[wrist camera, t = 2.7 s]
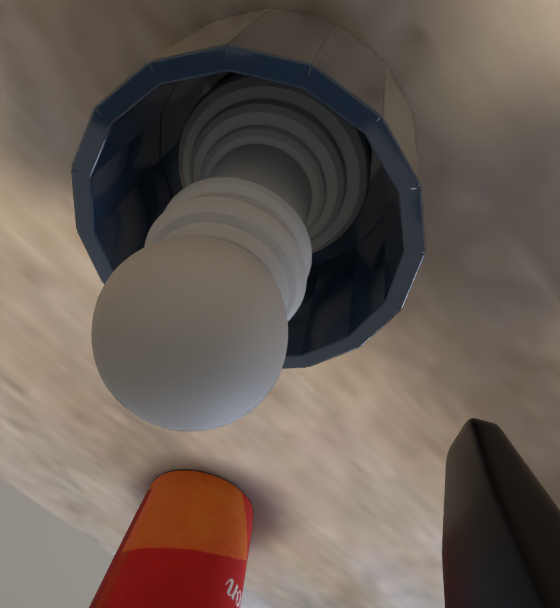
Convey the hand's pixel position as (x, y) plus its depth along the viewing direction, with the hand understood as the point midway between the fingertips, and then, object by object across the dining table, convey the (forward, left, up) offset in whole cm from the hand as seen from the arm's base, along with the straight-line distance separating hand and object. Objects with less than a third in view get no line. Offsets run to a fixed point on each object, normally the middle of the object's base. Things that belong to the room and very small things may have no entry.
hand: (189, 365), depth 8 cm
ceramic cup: (0, 0, -8) cm, 8 cm away
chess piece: (0, 0, -8) cm, 8 cm away
